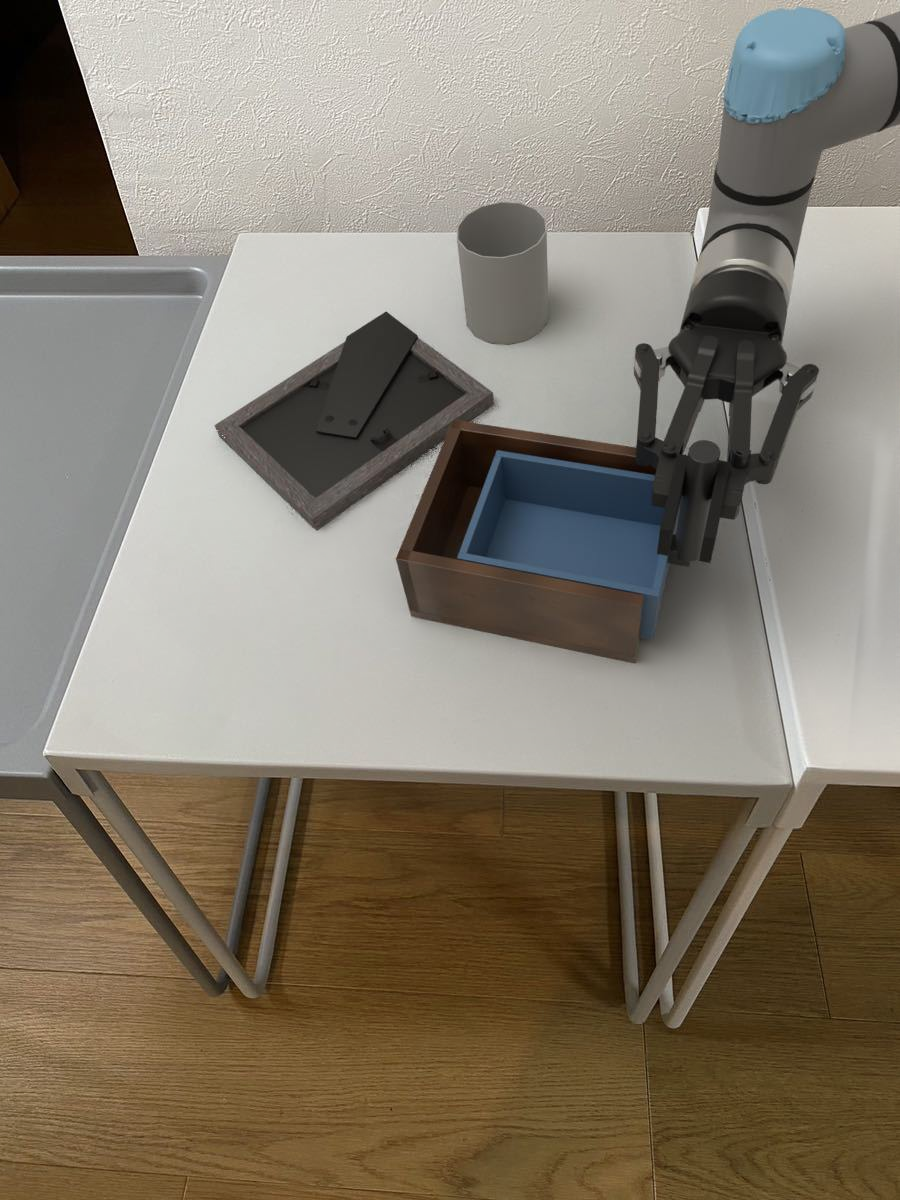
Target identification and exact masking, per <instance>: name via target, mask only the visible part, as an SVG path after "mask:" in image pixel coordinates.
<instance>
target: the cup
mask: <svg viewBox="0 0 900 1200" xmlns="http://www.w3.org/2000/svg"><path fill="white" fill-rule="evenodd" d="M547 231H548V230H547V218H546V217H544V215H543V214H542V213H541V212H540V211H539V210H538V209H537V208H535V207H533V206H530V205H527V204H525V203H522V202H517V201H497V202H494V203H488V204H485V205H481V206H479V207H477V208H475V209H474V210H471V211H470V212H469V213H466V214H465V216H463V218H462V219H461V220H460V222H459V223H458V225H457V226H456V243H457V252H458V260H459V269H460V276H461V277H460V278H461V287H462V297H463V304H464V313H465V321H466V327H467V328H468V330H470V332H471V333H472V334H473V336H474V337H476V338H478V339H480V340H483V341H484V342H487V343H489V344H498V345H507V346H508V345H512V344H517V343H521V342H525V341H528V340H529V339H531V338H533V337H535V336H536V335H537V334H540V333H541V332H542V331H543V329H544V328H545V326H546V324H547V322H548V321H549V320H550V317H549V316H550V315H549V313H550V311H549V277H548V276H549V274H548V270H549V269H548V233H547Z"/></svg>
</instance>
